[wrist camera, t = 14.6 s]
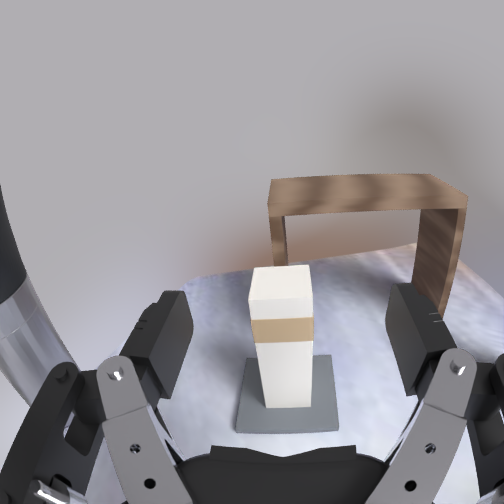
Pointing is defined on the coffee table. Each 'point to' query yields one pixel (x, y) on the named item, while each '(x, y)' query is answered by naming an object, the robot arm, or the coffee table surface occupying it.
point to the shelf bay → (382, 198)
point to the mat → (289, 419)
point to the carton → (283, 333)
